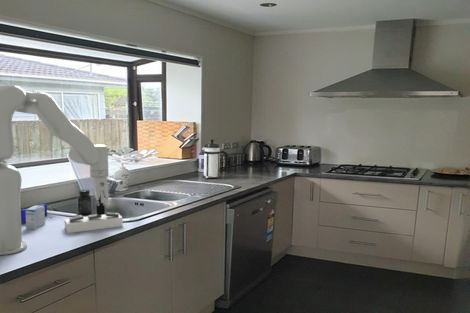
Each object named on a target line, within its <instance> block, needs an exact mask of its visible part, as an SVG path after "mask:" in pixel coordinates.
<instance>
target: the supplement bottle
mask: <svg viewBox="0 0 470 313" xmlns="http://www.w3.org/2000/svg"><path fill="white" fill-rule="evenodd" d="M90 191H91V190H90V189H85V188H84V189H79V191H78V192H79V193H78V194H79V195H78V196H77V197H76V206H77V208H76V209H77V212H76V213H77V216H79V215H82V216H83V217H87V216H88V215H93V196H92V195H91V192H90Z"/></svg>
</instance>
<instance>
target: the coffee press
mask: <svg viewBox="0 0 470 313" xmlns="http://www.w3.org/2000/svg"><path fill="white" fill-rule="evenodd" d="M214 141H215V140H214V139H211V140H210V142H206V143H204V145H203V147H202V149H201V150H202V151H203V175H202V177H203V178H205V180H209V178H217V179H218V180H220V179H221V177H220V173H222V172H225V171H226V170H227V169H228V162H229V155H228V153H227V151H224V150H221V145H220V144H219V143H218V142H214ZM221 154H223V155H224V158H225V159H224V161H225V162H224V168H222V169H220V168H221V167H220V166H221V164H220V160H221V159H220V158H221V156H220V155H221Z"/></svg>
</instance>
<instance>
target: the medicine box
mask: <svg viewBox="0 0 470 313" xmlns="http://www.w3.org/2000/svg"><path fill="white" fill-rule="evenodd" d="M45 218H46V217H45V206H41V205H40V204H39V205H33V206H31V207H29V208H26V223H25V229H26V230H37V229H39V228H40V227H41V226H44V225H45V224H46V219H45Z"/></svg>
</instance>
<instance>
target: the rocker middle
mask: <svg viewBox="0 0 470 313" xmlns="http://www.w3.org/2000/svg"><path fill="white" fill-rule="evenodd" d="M101 215H102V214H101ZM101 215H97V213H95V214H93V213H92V214H91V215H87V216H88V219H95V218H101Z"/></svg>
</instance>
